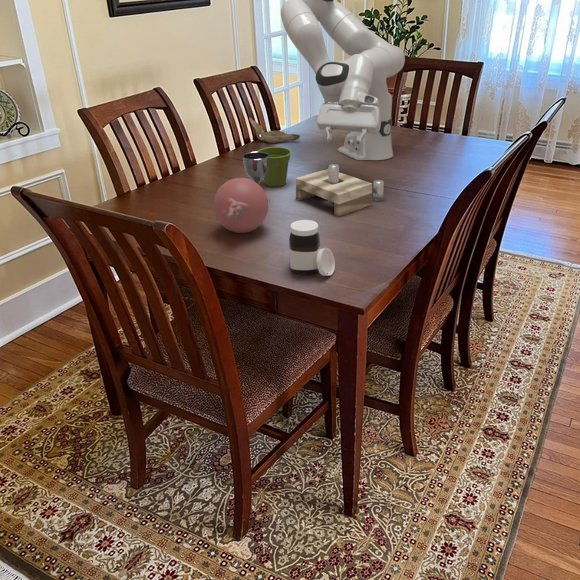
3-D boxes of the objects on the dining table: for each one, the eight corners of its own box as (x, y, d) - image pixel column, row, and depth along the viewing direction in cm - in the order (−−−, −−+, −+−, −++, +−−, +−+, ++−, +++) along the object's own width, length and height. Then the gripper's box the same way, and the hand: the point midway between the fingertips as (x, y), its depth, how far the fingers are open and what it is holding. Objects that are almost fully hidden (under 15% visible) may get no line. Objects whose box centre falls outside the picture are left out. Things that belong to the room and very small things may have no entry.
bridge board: (296, 199, 191) (295, 178, 188) (328, 188, 199) (328, 168, 195) (338, 216, 178) (339, 194, 174) (371, 204, 185) (372, 183, 182)
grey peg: (327, 200, 189) (327, 164, 183) (336, 199, 190) (337, 163, 184) (329, 204, 186) (330, 167, 181) (339, 203, 187) (340, 166, 181)
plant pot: (251, 184, 204) (249, 152, 198) (275, 175, 212) (273, 144, 206) (275, 192, 197) (274, 159, 191) (299, 182, 204) (299, 150, 199)
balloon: (202, 246, 162) (196, 193, 154) (226, 218, 179) (221, 169, 171) (256, 251, 159) (253, 197, 151) (275, 222, 176) (273, 171, 168)
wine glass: (274, 198, 192) (273, 153, 185) (263, 207, 186) (261, 160, 179) (253, 195, 195) (250, 150, 188) (241, 203, 189) (238, 157, 182)
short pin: (370, 199, 189) (371, 181, 186) (377, 196, 191) (378, 178, 188) (378, 201, 187) (379, 183, 184) (384, 199, 189) (386, 181, 186)
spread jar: (290, 258, 154) (289, 217, 149) (333, 258, 154) (334, 216, 148) (288, 281, 144) (287, 237, 138) (335, 280, 144) (336, 237, 138)
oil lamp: (253, 138, 255) (251, 115, 250) (302, 139, 251) (301, 115, 246) (248, 144, 248) (246, 120, 243) (298, 145, 244) (298, 121, 239)
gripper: (319, 95, 188) (310, 134, 185) (382, 98, 182) (374, 139, 179) (323, 107, 194) (314, 144, 191) (385, 110, 188) (377, 149, 185)
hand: (343, 142), depth 185 cm, fingers open, 8 cm apart
